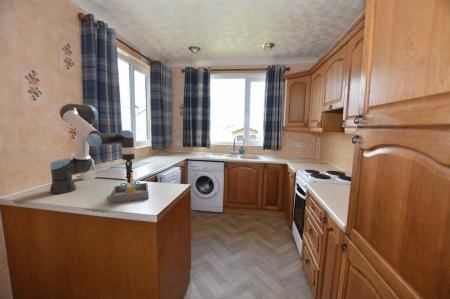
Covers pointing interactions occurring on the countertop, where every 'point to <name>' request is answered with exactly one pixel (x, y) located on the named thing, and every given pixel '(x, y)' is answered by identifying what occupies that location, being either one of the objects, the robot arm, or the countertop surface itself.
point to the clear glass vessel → (88, 174)
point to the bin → (129, 194)
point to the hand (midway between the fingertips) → (130, 184)
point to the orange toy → (132, 189)
